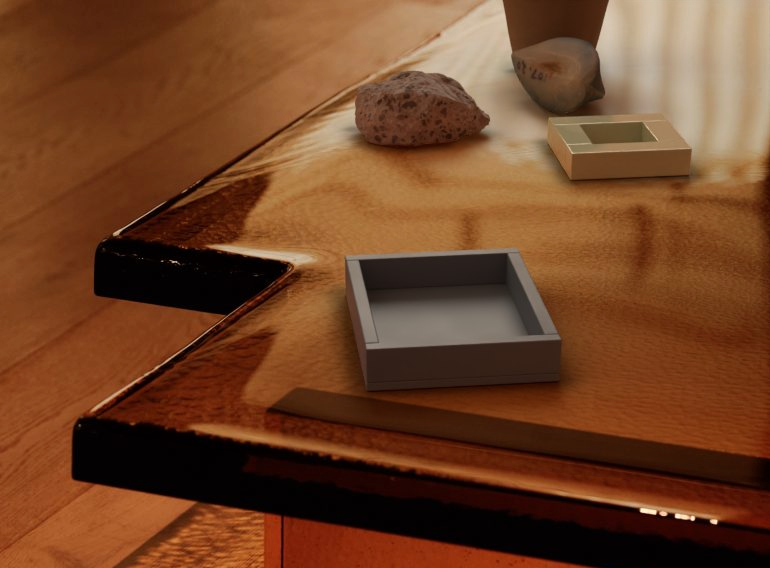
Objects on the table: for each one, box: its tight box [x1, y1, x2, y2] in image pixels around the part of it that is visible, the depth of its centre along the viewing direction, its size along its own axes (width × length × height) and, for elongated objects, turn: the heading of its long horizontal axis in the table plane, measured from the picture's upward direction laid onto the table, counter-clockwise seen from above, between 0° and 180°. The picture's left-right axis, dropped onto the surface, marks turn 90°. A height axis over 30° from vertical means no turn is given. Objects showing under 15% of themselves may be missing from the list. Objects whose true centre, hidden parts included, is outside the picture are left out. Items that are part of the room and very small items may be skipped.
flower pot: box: [502, 0, 610, 53], centre depth 139 cm, size 12×11×10 cm
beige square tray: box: [546, 112, 693, 181], centre depth 119 cm, size 9×9×2 cm
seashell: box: [510, 37, 606, 115], centre depth 131 cm, size 6×9×10 cm
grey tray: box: [344, 247, 563, 392], centre depth 92 cm, size 14×11×2 cm
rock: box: [354, 70, 491, 147], centre depth 125 cm, size 9×11×4 cm
